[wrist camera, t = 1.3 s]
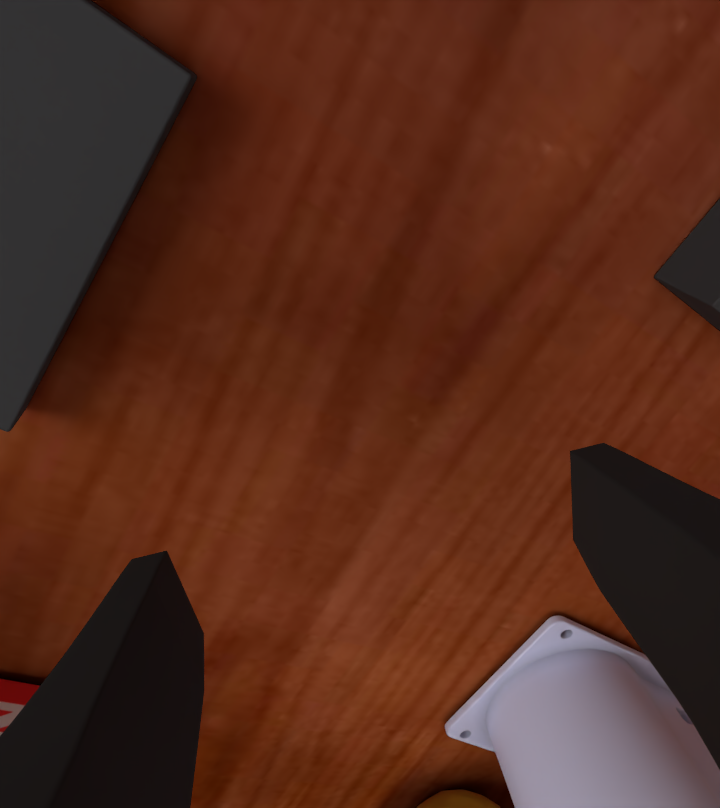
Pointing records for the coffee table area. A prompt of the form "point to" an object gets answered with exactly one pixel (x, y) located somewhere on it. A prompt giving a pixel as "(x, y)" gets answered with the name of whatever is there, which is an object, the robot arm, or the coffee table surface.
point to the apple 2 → (458, 800)
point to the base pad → (68, 166)
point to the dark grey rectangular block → (697, 268)
